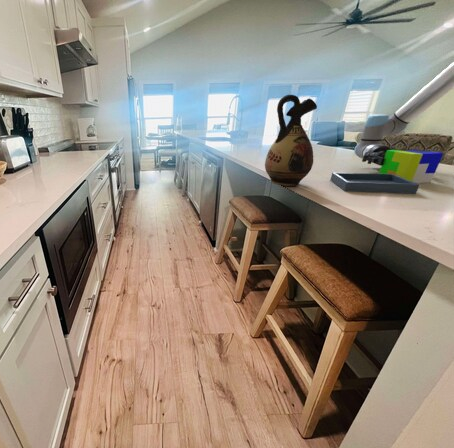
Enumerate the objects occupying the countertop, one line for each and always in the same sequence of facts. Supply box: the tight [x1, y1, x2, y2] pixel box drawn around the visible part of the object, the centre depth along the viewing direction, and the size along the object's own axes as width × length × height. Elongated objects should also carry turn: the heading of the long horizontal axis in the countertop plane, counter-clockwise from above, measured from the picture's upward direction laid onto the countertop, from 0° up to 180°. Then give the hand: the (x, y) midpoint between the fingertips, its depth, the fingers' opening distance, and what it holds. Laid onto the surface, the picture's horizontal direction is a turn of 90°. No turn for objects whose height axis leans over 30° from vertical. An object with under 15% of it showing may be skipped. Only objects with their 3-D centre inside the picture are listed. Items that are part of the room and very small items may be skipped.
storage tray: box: [330, 172, 420, 195], centre depth 82 cm, size 19×15×3 cm
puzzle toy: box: [378, 148, 444, 184], centre depth 87 cm, size 10×10×10 cm
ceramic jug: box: [259, 94, 318, 187], centre depth 85 cm, size 17×15×30 cm
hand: (405, 162), depth 88 cm, fingers open, 13 cm apart
